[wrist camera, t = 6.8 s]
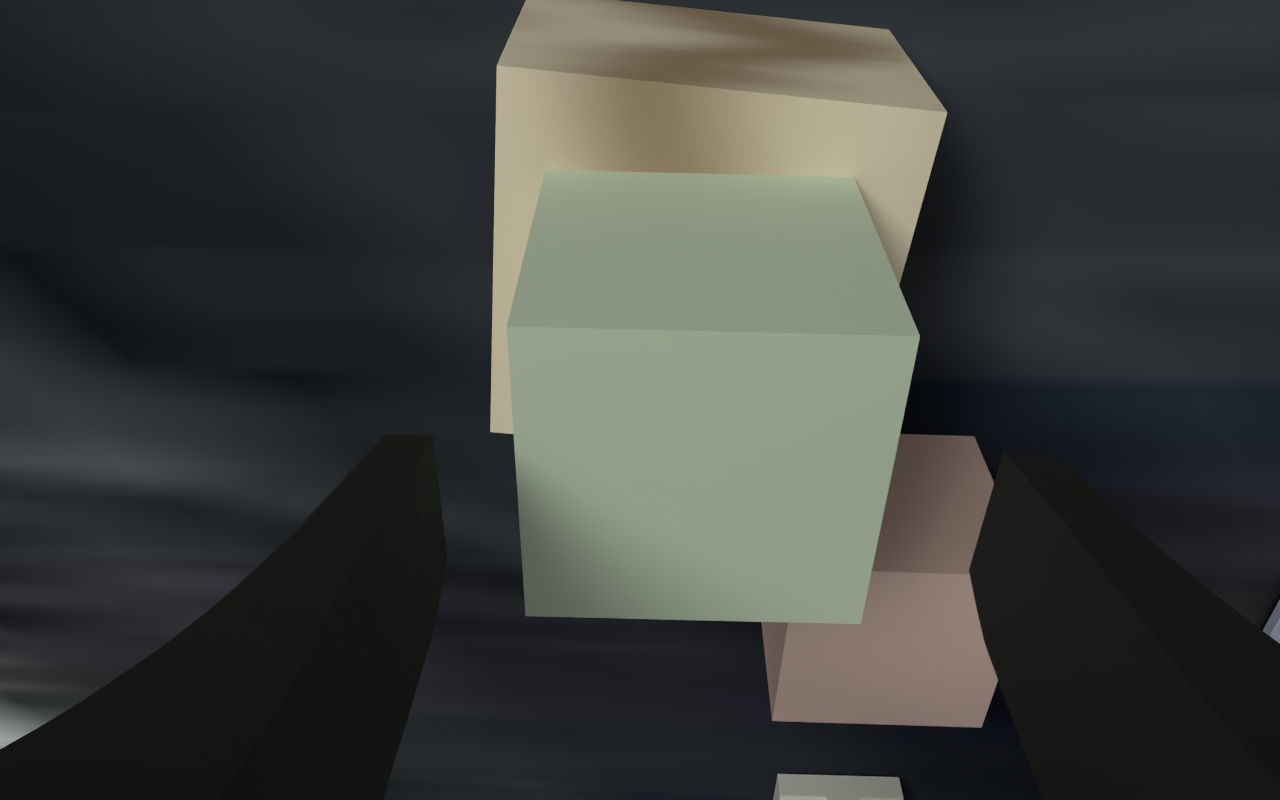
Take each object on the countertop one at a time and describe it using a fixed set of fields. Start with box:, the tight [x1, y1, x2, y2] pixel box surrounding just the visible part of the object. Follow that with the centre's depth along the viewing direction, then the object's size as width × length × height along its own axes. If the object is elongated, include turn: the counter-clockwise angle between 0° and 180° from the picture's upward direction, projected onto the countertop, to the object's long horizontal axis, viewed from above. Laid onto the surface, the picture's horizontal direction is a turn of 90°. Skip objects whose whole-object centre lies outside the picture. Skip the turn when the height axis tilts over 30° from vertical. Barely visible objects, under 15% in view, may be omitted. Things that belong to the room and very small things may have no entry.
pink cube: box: [761, 434, 998, 728], centre depth 25 cm, size 5×5×5 cm
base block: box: [490, 0, 947, 434], centre depth 20 cm, size 7×7×5 cm
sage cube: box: [507, 170, 920, 624], centre depth 16 cm, size 5×5×5 cm
